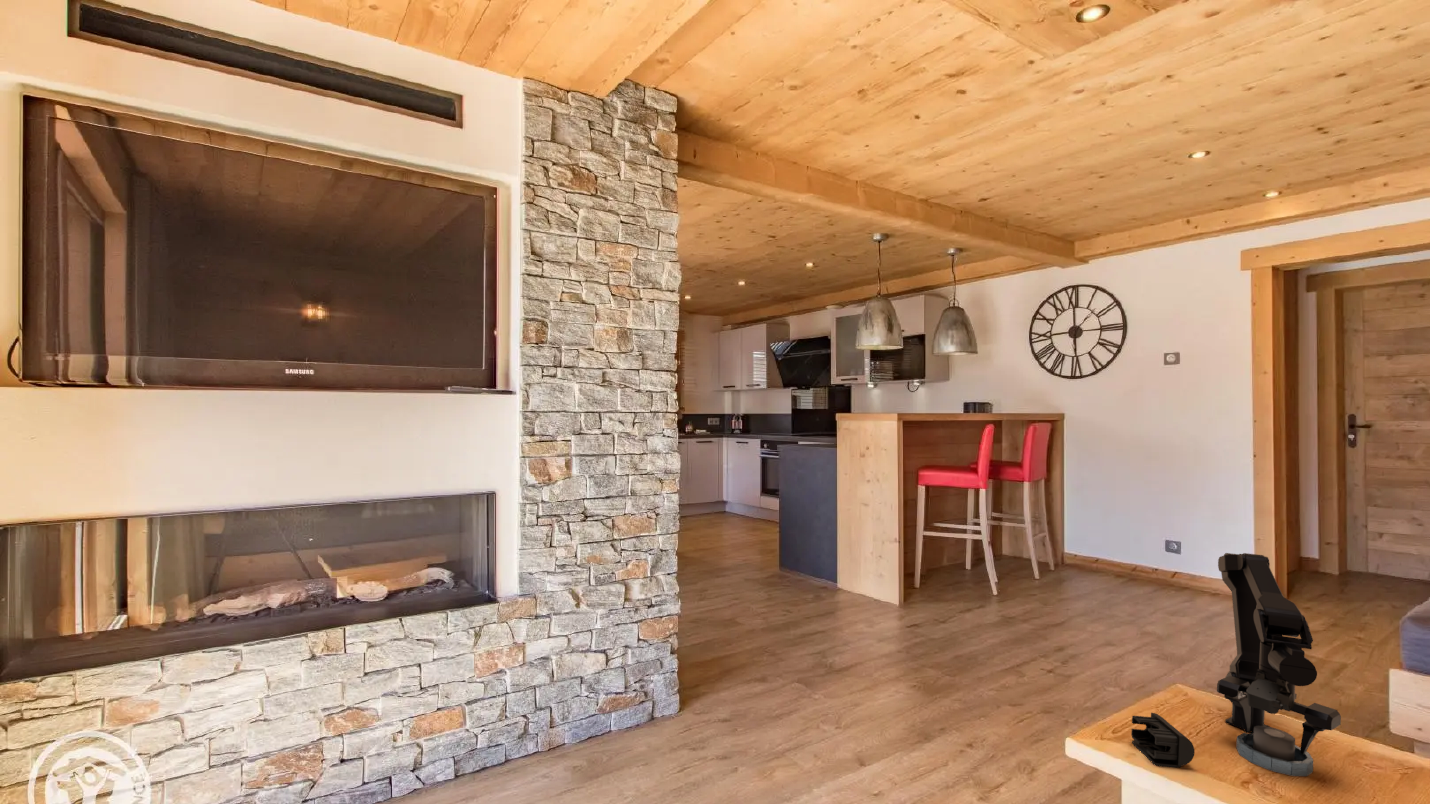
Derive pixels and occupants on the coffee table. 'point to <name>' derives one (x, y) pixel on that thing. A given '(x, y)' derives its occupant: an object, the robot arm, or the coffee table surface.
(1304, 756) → the blue-grey round tray
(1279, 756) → the dark brown cylinder
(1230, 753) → the coffee table surface
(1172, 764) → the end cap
